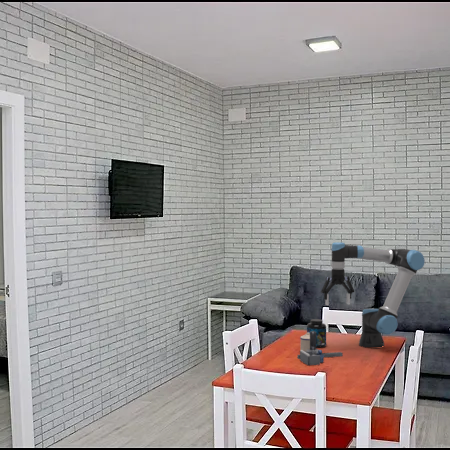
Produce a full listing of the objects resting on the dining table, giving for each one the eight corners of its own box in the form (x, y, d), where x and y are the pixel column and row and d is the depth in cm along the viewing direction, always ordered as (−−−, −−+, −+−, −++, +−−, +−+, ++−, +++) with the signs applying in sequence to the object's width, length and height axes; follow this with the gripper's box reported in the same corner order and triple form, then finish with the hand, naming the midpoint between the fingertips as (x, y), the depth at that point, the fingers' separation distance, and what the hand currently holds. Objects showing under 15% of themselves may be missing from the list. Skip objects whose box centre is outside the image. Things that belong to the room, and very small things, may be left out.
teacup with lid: (314, 354, 351) (314, 334, 351) (298, 353, 354) (299, 333, 354) (317, 350, 363) (317, 330, 363) (302, 349, 365) (302, 329, 365)
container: (326, 344, 379) (326, 318, 378) (326, 349, 367) (326, 322, 366) (307, 343, 381) (307, 317, 380) (306, 348, 369) (306, 322, 368)
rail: (340, 355, 350) (340, 352, 350) (342, 356, 348) (342, 352, 348) (297, 358, 343) (297, 354, 343) (298, 358, 341) (298, 355, 341)
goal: (311, 359, 339) (311, 349, 339) (320, 364, 328) (320, 354, 328) (300, 360, 337) (300, 350, 337) (307, 365, 326) (308, 354, 326)
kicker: (316, 356, 347) (316, 331, 346) (326, 362, 333) (327, 336, 332) (306, 356, 345) (306, 331, 345) (316, 362, 331) (317, 336, 331)
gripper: (354, 267, 360) (354, 303, 361) (315, 268, 354) (315, 304, 354) (360, 268, 353) (359, 305, 353) (321, 269, 346) (320, 306, 347)
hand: (337, 304), depth 354 cm, fingers open, 13 cm apart
